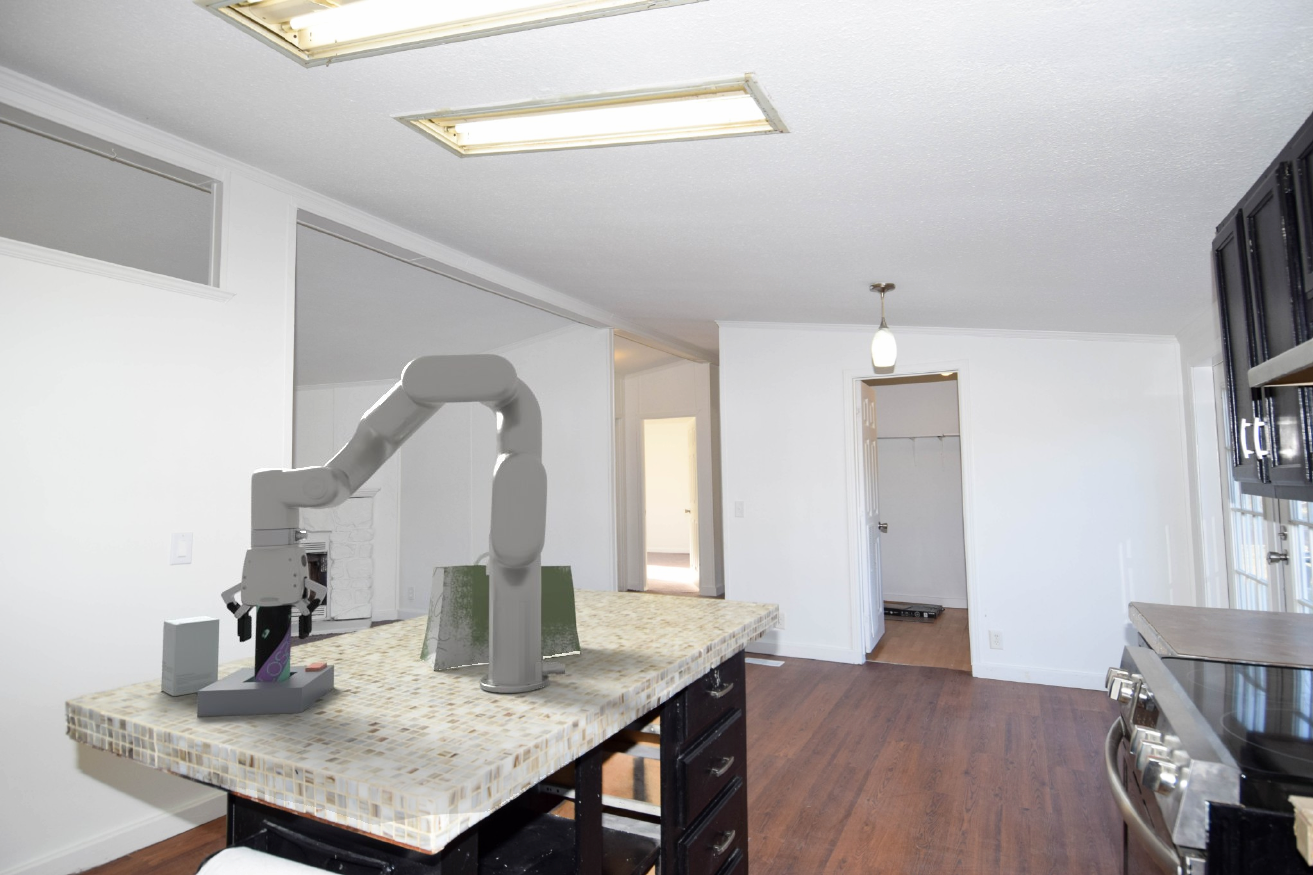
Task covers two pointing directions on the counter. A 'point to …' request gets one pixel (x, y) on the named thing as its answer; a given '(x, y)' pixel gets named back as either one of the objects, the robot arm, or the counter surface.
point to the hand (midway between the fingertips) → (274, 639)
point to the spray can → (272, 641)
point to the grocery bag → (465, 615)
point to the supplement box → (189, 654)
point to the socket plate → (266, 692)
